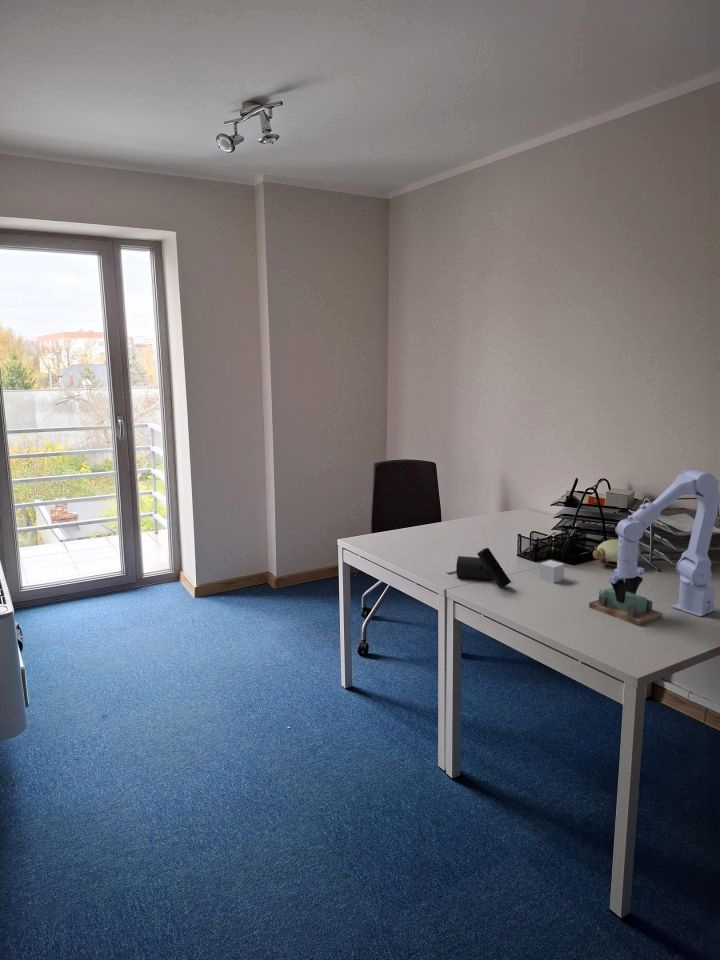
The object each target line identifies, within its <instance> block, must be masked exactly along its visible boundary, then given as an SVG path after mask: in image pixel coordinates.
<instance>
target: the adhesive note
mask: <svg viewBox="0 0 720 960" xmlns="http://www.w3.org/2000/svg"><path fill="white" fill-rule="evenodd" d="M539 580H542V581H545V582H548V583H550V584H556V583H558V582H560V581H563V580H565V564H564V563H562V562H560V561H559V562H558V561H555V560H552V559H549V560H546V561H543V562H540V563H539Z"/></svg>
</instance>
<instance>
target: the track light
mask: <svg viewBox="0 0 720 960" xmlns="http://www.w3.org/2000/svg"><path fill="white" fill-rule="evenodd" d="M476 554H477V556H478V557H475V556H461V555H458V556H457V559H456V566H455V567H456V568H455V569H456V570H455V571H456V577H457V578H465V579H477V578H478V579H479V580H488V579H489V580H490V581H493V580H494V582H495V583H496V585H497V586H498V587H499V588H505V587H507V586H508V585H509V584H510V583H512V581H511V579H510V578H509V577H508V575H507V574H506V572H505V570H504V569H503V568H502V567H501V565H500V563H499V561H498V560H497V559H496V557H495V555H494V554H493V553H492V551H491V549H490V548H489V547H486V548H483V549H481V550H480V551H479V552H477V553H476ZM478 579H477V580H478Z"/></svg>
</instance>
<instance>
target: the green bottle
mask: <svg viewBox="0 0 720 960" xmlns="http://www.w3.org/2000/svg"><path fill="white" fill-rule="evenodd" d="M600 595H604V596H607V597H608V600H607V604H608V605H611V606H614V607H616V608H619V609H622V610H625V611H627V610H628V606H629V605H633V606H636V607H637V613H636V615H639V614H641V613H644V612H646V606H647V600H648V598H647V597H644V596H642V595H639V594H637V593H636V594H633V593H630V592H627V591H626V594H625V600H624V603H620V602H617V600H616V595H615V591H614V589H613V586H612V587H609V588H607V589H602V588H600V589H599V590H598V596H600Z"/></svg>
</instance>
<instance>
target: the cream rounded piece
mask: <svg viewBox="0 0 720 960" xmlns="http://www.w3.org/2000/svg"><path fill="white" fill-rule="evenodd" d="M618 539H619V538H618ZM618 539H616V538H615V539H609V540H608V539H607V540H605V541H603V542H601V543H600V544H598V545H597V549H595V550H593V552H592V556H593V558H594V559H595V560H599V561H600V564H602V565H608V566H610V567H617V560H618ZM641 553H642V552H641V549H640V547H638V558H639V557H640V556H641ZM611 562H612V563H616V564H612V563H611Z"/></svg>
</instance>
